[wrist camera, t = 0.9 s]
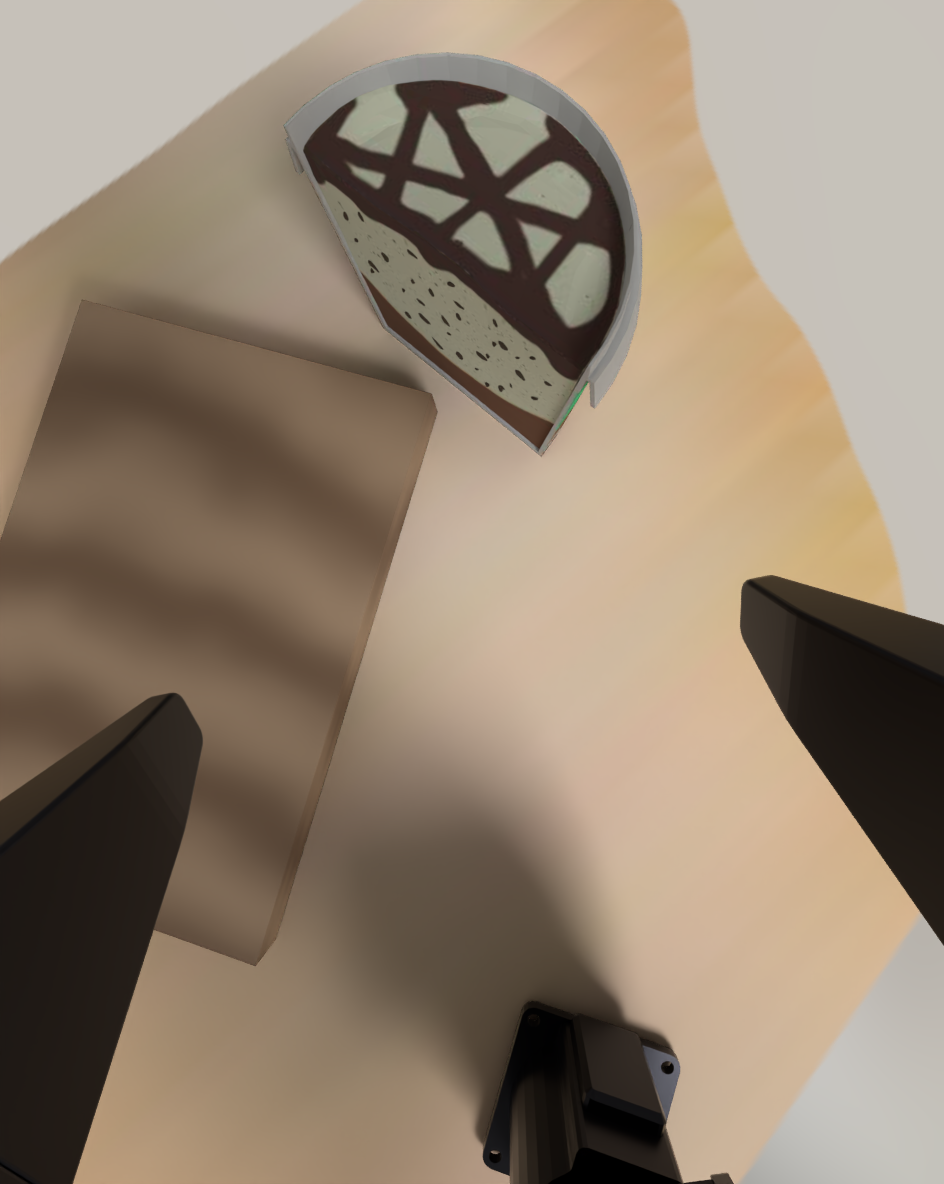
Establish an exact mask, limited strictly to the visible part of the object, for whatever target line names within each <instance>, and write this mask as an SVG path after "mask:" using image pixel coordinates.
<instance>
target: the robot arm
mask: <svg viewBox="0 0 944 1184" xmlns="http://www.w3.org/2000/svg"><path fill="white" fill-rule="evenodd" d="M740 629H741V634H742V637H743V640H744V642H745V644H746V646H747V648H748V649H749V651H750V653H751V655H752V657H753V659H754V661H755V662H756V664H757V666H758V668H759V670H760V672H761V674H762V676H763V677H764V679H765V681H766V683H767V685H768V687H769V689H770V691H771V692H772V694H773V696H774V698H775V700H776V702H777V704H778V706H779V707H780V709H781V711H782V713H783V714H784V716H785V718H786V720H787V721H788V723H789V724H790V726H791V727H792V729H793V730H794V732H795V733H796V735H797V736H798V737H799V739H800V740H801V742H802V743H803V745H804V746H805V748H806V749H807V750H808V752H809V753H810V755H811V756H812V758H813V759H814V760H815V762H816V763H817V765H818V766H819V768H820V769H821V770H822V772H823V773H824V775H825V776H826V778H827V779H828V780H829V782H830V783H831V785H832V786H833V788H834V789H835V791H836V792H837V793H838V795H839V796H840V798H841V799H842V801H843V802H844V803H845V805H846V806H847V808H848V809H849V811H850V812H851V813H852V815H853V816H854V818H855V819H856V821H857V822H858V823H859V825H860V826H861V828H862V829H863V831H864V832H865V834H866V835H867V836H868V838H869V839H870V841H871V842H872V844H873V845H874V846H875V848H876V849H877V851H878V852H879V854H880V855H881V856H882V858H883V859H884V861H885V862H886V864H887V865H888V866H889V868H890V869H891V871H892V872H893V874H894V875H895V877H896V878H897V879H898V881H899V882H900V884H901V885H902V887H903V888H904V889H905V891H906V892H907V894H908V895H909V897H910V898H911V899H912V901H913V902H914V904H915V905H916V907H917V908H918V909H919V911H920V912H921V914H922V915H923V917H924V918H925V919H926V921H927V922H928V924H929V925H930V927H931V928H932V929H933V931H934V932H935V934H936V935H937V937H938V938H939V940H940V941H941V942H942V944H943V945H944V625H942V624H939V623H936V622H932V621H929V620H926V619H922V618H918V617H915V616H911V615H908V614H905V613H901V612H898V611H895V610H891V609H888V608H884V607H881V606H877V605H874V604H870V603H867V602H864V601H860V600H857V599H853V598H850V597H846V596H843V595H840V594H836V593H833V592H829V591H826V590H822V589H819V588H815V587H812V586H809V585H805V584H802V583H798V582H795V581H791V580H788V579H784V578H781V577H778V576H774V575H768V576H763V577H758V578H753V579H749V580H746V581H745V582H744V584H743V586H742V591H741V616H740ZM202 747H203V735H202V731H201V729H200V727H199V725H198V723H197V722H196V720H195V718H194V716H193V715H192V713H191V711H190V709H189V707H188V706H187V704H186V702H185V700H184V699H183V698H182V696H180V695H179V694H177V693H167V694H162V695H157V696H152V697H150V698H148V699H146V700H145V701H143V702H142V703H140V704H139V705H138V706H136V707H135V708H133V709H132V710H130V711H129V712H127V713H126V714H125V715H123V716H122V717H120V718H119V719H117V720H116V721H114V722H113V723H112V724H110V725H109V726H107V727H106V728H104V729H103V730H102V731H100V732H99V733H97V734H96V735H94V736H93V737H91V738H90V739H89V740H87V741H86V742H84V743H83V744H81V745H80V746H78V747H77V748H76V749H74V750H73V751H71V752H70V753H68V754H67V755H65V756H64V757H63V758H61V759H60V760H58V761H57V762H55V763H54V764H52V765H51V766H50V767H48V768H47V769H45V770H44V771H42V772H41V773H40V774H38V775H37V776H35V777H34V778H32V779H31V780H29V781H28V782H27V783H25V784H24V785H22V786H21V787H19V788H18V789H16V790H15V791H14V792H12V793H11V794H9V795H8V796H6V797H5V798H3V799H2V800H1V801H0V1184H73V1181H74V1178H75V1175H76V1172H77V1169H78V1166H79V1163H80V1159H81V1156H82V1153H83V1150H84V1147H85V1144H86V1141H87V1137H88V1134H89V1131H90V1128H91V1125H92V1122H93V1119H94V1115H95V1112H96V1109H97V1106H98V1103H99V1100H100V1097H101V1094H102V1090H103V1087H104V1084H105V1081H106V1078H107V1075H108V1072H109V1068H110V1065H111V1062H112V1059H113V1056H114V1053H115V1050H116V1046H117V1043H118V1040H119V1037H120V1034H121V1031H122V1028H123V1024H124V1021H125V1018H126V1015H127V1012H128V1009H129V1006H130V1003H131V999H132V996H133V993H134V990H135V987H136V984H137V981H138V977H139V974H140V971H141V968H142V965H143V962H144V959H145V955H146V952H147V949H148V946H149V943H150V940H151V937H152V933H153V930H154V927H155V924H156V921H157V918H158V915H159V912H160V908H161V905H162V902H163V899H164V896H165V893H166V890H167V886H168V883H169V880H170V877H171V874H172V871H173V868H174V864H175V861H176V858H177V855H178V852H179V849H180V846H181V842H182V839H183V835H184V832H185V828H186V823H187V819H188V815H189V810H190V805H191V800H192V795H193V791H194V786H195V781H196V776H197V771H198V766H199V761H200V756H201V751H202ZM531 1014H536V1015H538V1016H539V1018H538V1019H537V1020H531V1019H529V1015H531ZM665 1061H670V1062H671V1064H670V1065H669V1066H667V1067H663V1066H661V1065H662V1063H663V1062H665ZM679 1074H680V1064H679V1061H678V1059H677V1056H676V1054H675V1053H674V1052H673V1050H671V1049H669V1048H667V1047H664V1046H661V1045H658V1044H655V1043H653V1042H650V1041H647V1040H644V1039H641V1038H639V1037H638V1035H637V1034H636V1033H634V1032H631V1031H628V1030H625V1029H623V1028H620V1027H617V1026H614V1025H611V1024H608V1023H605V1022H603V1021H600V1020H597V1019H594V1018H591V1017H588V1016H585V1015H583V1014H577V1015H573V1014H570V1013H567V1012H564V1011H561V1010H559V1009H556V1008H553V1007H550V1006H547V1005H544V1004H541V1003H539V1002H534V1001H531V1002H528V1003H527V1004H525V1005H524V1007H523V1009H522V1011H521V1014H520V1018H519V1021H518V1025H517V1028H516V1032H515V1035H514V1039H513V1042H512V1046H511V1049H510V1053H509V1056H508V1060H507V1063H506V1067H505V1070H504V1074H503V1077H502V1081H501V1084H500V1088H499V1091H498V1095H497V1098H496V1102H495V1105H494V1109H493V1112H492V1116H491V1119H490V1123H489V1126H488V1130H487V1133H486V1137H485V1140H484V1145H483V1160H484V1163H485V1164H486V1165H487V1166H488V1167H489V1168H491V1169H493V1170H495V1171H498V1172H501V1173H503V1174H506V1175H509V1176H510V1184H734V1183H733V1182H732V1180H731V1178H730V1176H729V1174H728V1173H721V1174H714V1175H711V1180H703V1181H696V1182H688V1183H683V1180H682V1177H681V1173H680V1170H679V1167H678V1164H677V1161H676V1158H675V1155H674V1151H673V1148H672V1145H671V1142H670V1139H669V1136H668V1132H667V1129H666V1122H667V1118H668V1114H669V1111H670V1107H671V1103H672V1099H673V1096H674V1092H675V1088H676V1085H677V1081H678V1077H679ZM492 1150H498V1151H499V1152H500V1153H498V1154H493V1153H491V1151H492Z"/></svg>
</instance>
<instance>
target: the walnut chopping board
mask: <svg viewBox="0 0 944 1184" xmlns="http://www.w3.org/2000/svg"><path fill="white" fill-rule="evenodd" d="M436 415H437V409H436V406H435V403H434V400H433V396H432V394H431V393H427V392H423V391H419V390H416V389H412V388H408V387H405V386H401V385H397V384H393V383H390V382H386V381H382V380H379V379H375V378H371V377H367V376H364V375H360V374H356V373H353V372H349V371H345V370H342V369H338V368H334V367H330V366H327V365H323V364H319V363H316V362H312V361H308V360H304V359H301V358H297V357H293V356H290V355H286V354H282V353H278V352H275V351H271V350H267V349H264V348H260V347H256V346H252V345H249V344H245V343H241V342H238V341H234V340H230V339H226V338H223V337H219V336H215V335H212V334H208V333H204V332H200V331H197V330H193V329H189V328H186V327H182V326H178V325H174V324H171V323H167V322H163V321H160V320H156V319H152V318H148V317H145V316H141V315H137V314H134V313H130V312H126V311H123V310H119V309H115V308H111V307H108V306H104V305H100V304H97V303H93V302H89V301H85V300H82V301H81V304H80V307H79V310H78V313H77V316H76V319H75V322H74V325H73V328H72V330H71V333H70V336H69V339H68V342H67V345H66V348H65V351H64V354H63V357H62V360H61V363H60V366H59V369H58V372H57V375H56V378H55V381H54V384H53V387H52V390H51V392H50V395H49V398H48V401H47V404H46V407H45V410H44V413H43V416H42V419H41V422H40V425H39V428H38V431H37V434H36V437H35V440H34V443H33V446H32V449H31V451H30V454H29V457H28V460H27V463H26V466H25V469H24V472H23V475H22V478H21V481H20V484H19V487H18V490H17V493H16V496H15V499H14V502H13V505H12V508H11V511H10V513H9V516H8V519H7V522H6V525H5V528H4V531H3V534H2V537H1V540H0V801H1V800H2V799H3V798H5V797H6V796H8V795H9V794H11V793H12V792H14V791H15V790H16V789H18V788H19V787H21V786H22V785H24V784H25V783H27V782H28V781H29V780H31V779H32V778H34V777H35V776H37V775H38V774H40V773H41V772H42V771H44V770H45V769H47V768H48V767H50V766H51V765H52V764H54V763H55V762H57V761H58V760H60V759H61V758H63V757H64V756H65V755H67V754H68V753H70V752H71V751H73V750H74V749H76V748H77V747H78V746H80V745H81V744H83V743H84V742H86V741H87V740H89V739H90V738H91V737H93V736H94V735H96V734H97V733H99V732H100V731H102V730H103V729H104V728H106V727H107V726H109V725H110V724H112V723H113V722H114V721H116V720H117V719H119V718H120V717H122V716H123V715H125V714H126V713H127V712H129V711H130V710H132V709H133V708H135V707H136V706H138V705H139V704H140V703H142V702H143V701H145V700H146V699H148V698H150V697H152V696H157V695H162V694H167V693H177V694H179V695H180V696H182V698H183V699H184V700H185V702H186V704H187V706H188V707H189V709H190V711H191V713H192V715H193V716H194V718H195V720H196V722H197V723H198V725H199V727H200V729H201V731H202V735H203V747H202V751H201V756H200V761H199V766H198V771H197V776H196V781H195V786H194V791H193V795H192V800H191V805H190V810H189V815H188V819H187V823H186V828H185V832H184V835H183V839H182V842H181V846H180V849H179V852H178V855H177V858H176V861H175V864H174V868H173V871H172V874H171V877H170V880H169V883H168V886H167V890H166V893H165V896H164V899H163V902H162V905H161V908H160V912H159V915H158V918H157V921H156V924H155V927H154V930H156V931H159V932H162V933H165V934H168V935H170V936H173V937H176V938H179V939H181V940H184V941H187V942H190V943H193V944H195V945H198V946H201V947H204V948H206V949H209V950H212V951H215V952H218V953H220V954H223V955H226V956H229V957H231V958H234V959H237V960H240V961H243V962H245V963H248V964H251V965H254V966H256V965H257V963H258V962H259V961H260V959H261V958H262V957H263V955H264V954H265V953H266V951H267V950H268V949H269V947H270V946H271V945H272V943H273V942H274V941H275V939H276V937H277V933H278V930H279V927H280V924H281V920H282V917H283V914H284V911H285V907H286V904H287V901H288V898H289V894H290V891H291V888H292V885H293V881H294V878H295V875H296V872H297V868H298V865H299V862H300V858H301V855H302V852H303V849H304V845H305V842H306V839H307V836H308V832H309V829H310V826H311V823H312V819H313V816H314V813H315V810H316V806H317V803H318V800H319V797H320V793H321V790H322V787H323V784H324V780H325V777H326V774H327V771H328V767H329V764H330V761H331V757H332V754H333V751H334V748H335V744H336V741H337V738H338V735H339V731H340V728H341V725H342V722H343V718H344V715H345V712H346V709H347V705H348V702H349V699H350V696H351V692H352V689H353V686H354V683H355V679H356V676H357V673H358V669H359V666H360V663H361V660H362V656H363V653H364V650H365V647H366V643H367V640H368V637H369V634H370V630H371V627H372V624H373V621H374V617H375V614H376V611H377V608H378V604H379V601H380V598H381V595H382V591H383V588H384V585H385V581H386V578H387V575H388V572H389V568H390V565H391V562H392V559H393V555H394V552H395V549H396V546H397V542H398V539H399V536H400V533H401V529H402V526H403V523H404V520H405V516H406V513H407V510H408V507H409V503H410V500H411V497H412V494H413V490H414V487H415V484H416V480H417V477H418V474H419V471H420V467H421V464H422V461H423V458H424V454H425V451H426V448H427V445H428V441H429V438H430V435H431V432H432V428H433V425H434V422H435V419H436Z"/></svg>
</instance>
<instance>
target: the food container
mask: <svg viewBox="0 0 944 1184" xmlns="http://www.w3.org/2000/svg"><path fill="white" fill-rule="evenodd" d="M283 126H284V128H285V130H286V133H287V135H288V137H287V138H286V139H285V140H286V143H287V146H288V149H289V152H290V155H291V158H292V161H293V164H294V167H295V170H296V172H297V173H298V174H301V173H302V172H303V171H304V170H305V172H306V174H307V176H308V178H309V180H310V182H311V184H312V186H313V188H314V190H315V192H316V194H317V196H318V198H319V200H320V202H321V204H322V206H323V208H324V210H325V212H326V214H327V216H328V218H329V220H330V222H331V224H332V226H333V228H334V230H335V232H336V234H337V236H338V238H339V240H340V242H341V244H342V246H343V248H344V250H345V252H346V254H347V256H348V258H349V260H350V262H351V264H352V266H353V268H354V270H355V272H356V274H357V276H358V278H359V280H360V282H361V284H362V286H363V288H364V290H365V292H366V294H367V296H368V298H369V300H370V302H371V304H372V306H373V308H374V310H375V312H376V314H377V316H378V318H379V320H380V322H381V324H382V326H383V328H384V329H385V330H386V331H388V332H389V333H390V334H391V335H392V336H394V337H395V338H396V339H397V340H399V341H400V342H401V343H402V344H404V345H405V346H406V347H407V348H408V349H410V350H411V351H412V352H413V353H415V354H416V355H417V356H418V357H420V358H421V359H422V360H423V361H424V362H426V363H427V364H428V365H429V366H431V367H432V368H433V369H434V370H436V371H437V372H438V373H439V374H440V375H442V376H443V377H444V378H445V379H447V380H448V381H449V382H450V383H451V384H453V385H454V386H455V387H456V388H458V389H459V390H460V391H461V392H463V393H464V394H465V395H466V396H467V397H469V398H470V399H471V400H472V401H474V402H475V403H476V404H477V405H479V406H480V407H481V408H482V409H483V410H485V411H486V412H487V413H488V414H490V415H491V416H492V417H493V418H495V419H496V420H497V421H498V422H499V423H501V424H502V425H503V426H504V427H506V428H507V429H508V430H509V431H511V432H512V433H513V434H514V435H515V436H517V437H518V438H519V439H520V440H522V441H523V442H524V443H525V444H526V445H528V446H529V447H530V448H531V449H533V450H534V451H535V452H536V453H538V454H539V455H540V456H542V455H543V454H544V452H545V451H546V449H547V448H548V447H549V445H550V444H551V442H552V441H553V440H554V438H555V437H556V435H557V434H558V432H559V430H560V429H561V427H562V425H563V424H564V422H565V420H566V419H567V417H568V415H569V414H570V412H571V410H572V409H573V407H574V405H575V404H576V402H577V400H578V399H579V397H580V395H581V393H582V392H583V390H584V388H585V387H586V385H587V383H588V382H589V383H590V405H591V407H593V408H596V406H597V405H598V403H599V402H600V401H601V399H602V398H603V396H604V395H605V394H606V392H607V391H608V389H609V388H610V387H611V385H612V384H613V382H614V380H615V378H616V376H617V374H618V372H619V370H620V368H621V366H622V364H623V362H624V360H625V358H626V356H627V353H628V350H629V347H630V344H631V341H632V338H633V335H634V331H635V328H636V325H637V318H638V312H639V305H640V298H641V283H642V234H641V229H640V223H639V218H638V212H637V207H636V203H635V200H634V197H633V195H632V192H631V188H630V185H629V183H628V180H627V177H626V175H625V172H624V169H623V166H622V164H621V161H620V159H619V157H618V156H617V154H616V152H615V150H614V149H613V147H612V145H611V144H610V142H609V140H608V138H607V137H606V135H605V133H604V132H603V131H602V130H601V129H600V127H599V126H598V125H597V124H596V122H595V121H594V120H593V119H592V118H591V116H590V115H589V114H588V113H587V112H586V110H584V109H583V108H582V107H581V106H580V105H579V104H578V103H576V102H575V101H574V100H573V99H572V98H571V97H569V96H568V95H567V94H566V93H565V92H564V91H563V90H561V89H559V88H558V87H556V86H555V85H553V84H551V83H550V82H548V81H546V80H545V79H543V78H542V77H540V76H538V75H537V74H534V73H532V72H530V71H527V70H525V69H522V68H520V67H518V66H515V65H513V64H510V63H508V62H504V61H500V60H496V59H491V58H487V57H483V56H479V55H470V54H458V53H432V54H416V55H411V56H406V57H402V58H397V59H392V60H388V61H384V62H381V63H378V64H376V65H373V66H370V67H368V68H365V69H362V70H360V71H357V72H355V73H353V74H351V75H349V76H347V77H346V78H344V79H342V80H340V81H338V82H336V83H334V84H333V85H331V86H329V87H328V88H326V89H325V90H324V91H322V92H321V93H320V94H318V95H317V96H316V97H314V98H313V99H312V100H310V101H309V102H308V103H306V104H305V105H304V106H303V107H302V108H301V109H300V110H299V111H298V112H296V113H295V114H294V115H293V116H292V117H291V118H290V119H289V120H288V121H287V122H286V123H285V124H284V125H283Z"/></svg>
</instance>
